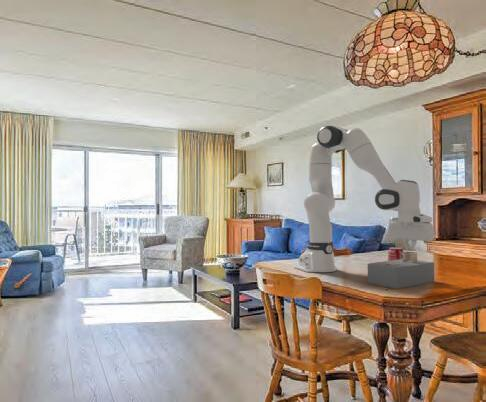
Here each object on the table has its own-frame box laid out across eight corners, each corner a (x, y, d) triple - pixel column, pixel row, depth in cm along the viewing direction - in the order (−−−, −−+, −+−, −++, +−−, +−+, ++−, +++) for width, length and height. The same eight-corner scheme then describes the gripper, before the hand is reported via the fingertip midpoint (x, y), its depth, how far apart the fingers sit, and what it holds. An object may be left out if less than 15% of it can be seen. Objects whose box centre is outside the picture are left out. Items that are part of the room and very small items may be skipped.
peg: (403, 268, 164) (402, 252, 164) (409, 267, 166) (408, 251, 166) (411, 269, 161) (410, 253, 161) (417, 268, 163) (417, 252, 163)
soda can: (403, 272, 182) (402, 247, 182) (405, 275, 176) (405, 248, 176) (387, 271, 184) (387, 246, 184) (389, 274, 177) (388, 248, 178)
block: (368, 282, 160) (367, 263, 160) (405, 276, 172) (404, 258, 172) (396, 288, 148) (396, 268, 148) (434, 281, 160) (434, 262, 160)
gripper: (384, 217, 171) (384, 248, 171) (426, 218, 153) (427, 253, 153) (393, 217, 174) (394, 247, 174) (435, 217, 156) (436, 251, 156)
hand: (410, 250), depth 163 cm, fingers closed
